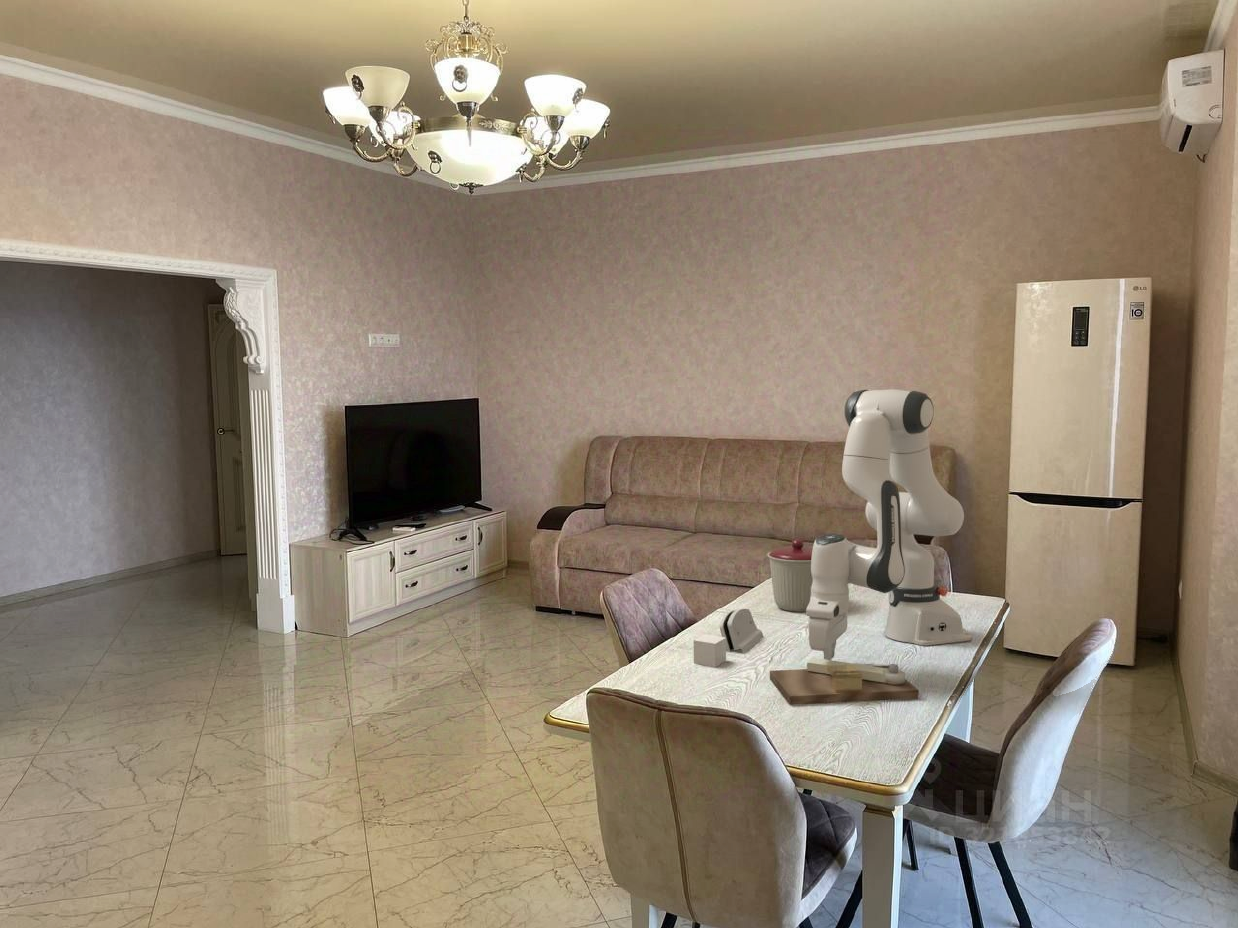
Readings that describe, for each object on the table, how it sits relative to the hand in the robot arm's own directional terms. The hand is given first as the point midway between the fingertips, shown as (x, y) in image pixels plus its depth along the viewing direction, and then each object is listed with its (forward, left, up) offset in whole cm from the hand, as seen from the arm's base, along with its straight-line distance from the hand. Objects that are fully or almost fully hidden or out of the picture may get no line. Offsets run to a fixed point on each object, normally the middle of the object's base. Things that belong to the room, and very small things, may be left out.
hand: (829, 658), depth 221 cm
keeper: (+2, +16, -1) cm, 16 cm away
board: (+1, +11, -3) cm, 12 cm away
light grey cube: (+27, -12, -4) cm, 29 cm away
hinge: (+16, -26, -4) cm, 30 cm away
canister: (-9, -59, -4) cm, 59 cm away
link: (-3, +10, -1) cm, 10 cm away
